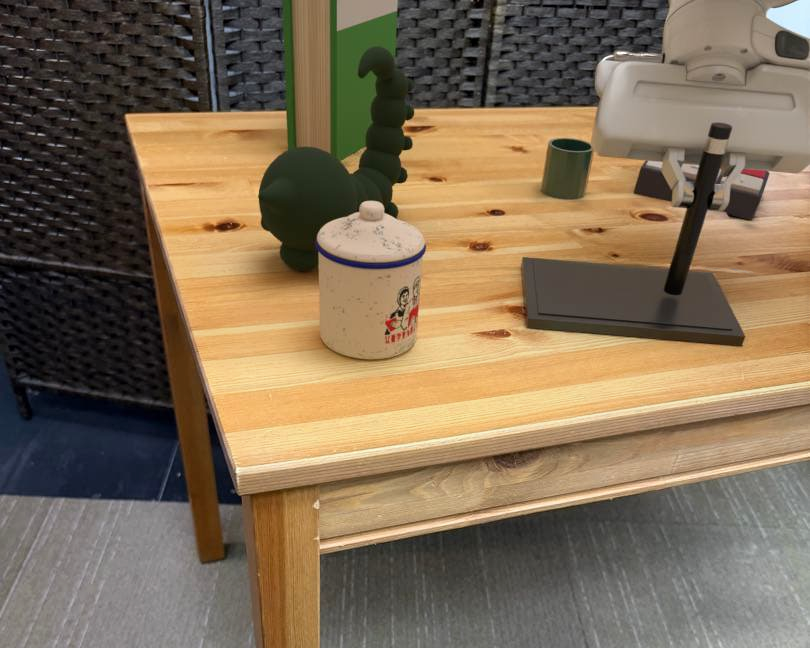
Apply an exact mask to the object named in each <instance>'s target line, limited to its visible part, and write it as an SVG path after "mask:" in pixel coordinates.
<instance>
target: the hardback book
mask: <svg viewBox="0 0 810 648" xmlns="http://www.w3.org/2000/svg"><path fill="white" fill-rule="evenodd" d="M398 2H399V1H398V0H282V1H281V3H282V6H281V7H282V28H283V30H282V31H283V56H284V57H283V60H284V81H285V82H284V85H285V106H286V107H285V109H286V111H285V113H286V135H287V136H286V139H287V141H286V142H287V150H290V149H292V148H297V147H304V146H306V147H314V148H318V149H321V150H323V151H326V152H328V153H330V154H331V155H333V156H334V157H335V158H337V159H338V160H339V161H340V162H342V160H344V159H346V158H347V157H349V156H351V155H353V154H354V153H356V152H358V151H360V150H362V149H363V148H365V147H366V139H365V136H366V133H367V130H368V128H369V126H370V125H371V124H372V123H373V121H372V119H371V111H370V108H371V104H372V101H373V99H374V98H375V97H376V95H377V93H376V89H375V83H376V79H377V77H376V76H375V75H374V73H373V72H372V71H370V72H369V73H368V74H367V75H366V76H365V77H364V78H359V76H358V67H359V63H360V59H361V57H362V55H363V54H364V52H365V51H366V50H368V49H369V48H371V47H376V46H381V47H383V48H385V49H387V50H388V51H389V52H390V53H391V54H392V56H393V57H394V60H395V61H396V54H397V53H396V49H397V29H398V28H397V27H398V26H397V25H398V5H399V4H398Z"/></svg>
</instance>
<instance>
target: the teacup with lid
mask: <svg viewBox="0 0 810 648" xmlns="http://www.w3.org/2000/svg"><path fill="white" fill-rule="evenodd" d="M315 244H316V248H317V250H318V251H319V264H318V304H319V305H318V307H319V308H318V310H319V312H318V313H319V336H320V338H321V340H322V342H323V343H324V344H325V346H326V347H328V348H329V349H330V350H332V351H333V352H335V353H337V354H339V355H342V356H345V357H349V358H354V359H359V360H384V359H390V358H393V357H396V356H398V355H401V354H404V353H406V352H407V351H408V350H410V349H411V348H412V347H413V346H414V344H415V343H416V341H417V338H418V337H417V336H418V327H419V325H418V323H419V311H420V298H421V297H420V296H421V283H422V269H423V268H422V267H423V256H424V255H425V253H426V251H427V244H426V240H425V238H424V236H423V234H422V232H421V231H420V229H418V228H417V227H416V226H414V225H412V224H411V223H408V222H406V221H403V220H401V219H397V218H396V219H395V218H394V217H392V216H390V215H388V214H386V213H384V206H383V205H382V204H381V203H380V202H377V201H365V202H363V203H362V204H361V205H360V208H359V212H357V213H354V214H351V215H349V216H348V217H343V218H339V219H336V220H333V221H331V222H329V223H327V224H325V225H324V226H323V227H322V228H321V229H320V231H319V232H318V235H317V238H316V241H315Z"/></svg>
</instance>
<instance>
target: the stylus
mask: <svg viewBox="0 0 810 648" xmlns="http://www.w3.org/2000/svg"><path fill="white" fill-rule="evenodd" d="M731 131H732V126H731V125H729V124H726V123H719V122H716V123H712V124H711V126H710V130H709V133H708V136H707V139H706V143H705V146H704V150H703V154H702V157H701V161H700V164H699V168H698V171H697V175H696V178H695V189H694V191H693V193H694V199H693V202H692V204H691V205H690V206H689V208H685V209H686V210H685V213H684V216H683V220H682V224H681V226H680V231H679V234H678V237H677V241H676V243H675V248H674V252H673V254H672V259H671V262H670V265H669V268H668V269H669V272H668V275H667V279H666V282H665V286H664V292H666V293H668V294H670V295H680V294H682V292H683V289H684V285H685V282H686V279H687V275H688V272H689V271H690V269H691V265H692V262H693V259H694V255H695V252H696V249H697V246H698V242H699V239H700V237H701V233H702V229H703V226H704V224H705V223H704V222H705V219H706V216H707V213H708V211H709V210H708V206H709V203H710V200H711V197H712V193H713V190H714V187H715V184H716V180H717V177H718V174H719V170H720V167H721V164H722V161H723V157H724V154H725V152H726V148H727V145H728V142H729V138H730V134H731Z"/></svg>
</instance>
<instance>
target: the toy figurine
mask: <svg viewBox="0 0 810 648" xmlns="http://www.w3.org/2000/svg"><path fill="white" fill-rule="evenodd" d="M370 71H372V72H373V73H374V75H375V76H376V77H377V79H376V83H375V89H376V93H377V95H376V97H375V98H374V99H373V101H372V104H371V108H370V111H371V119H372V121H373V123H372V124H371V125H370V126H369V128H368V130H367V133H366V136H365V139H366V146H365V147H366V148H365V149H364V151H363V152H362V153H361V156H360V158H359V161H358V168H357V169H356V170H355V171H354V172H351V173H350V171H349V170H348V169H347V168H346V166H345V165H344V164H343V162H342V161H339V160H338V159H337V158H335V157H334V156H333V155H331V154H330V153H328V152H326V151H323V150H321V149H318V148H314V147H306V146H304V147H297V148H292V149H290V150H288V149H287V150H285V151H283V152H282V153H280V154H279V155H277V156H276V157H275V158H274V159H273V161H272V162H271V163H270V164H269V165H268V166H267V168H266V170H265V171H264V173H263V175H262V178H261V181H260V184H259V188H258V194H257V198H258V205H259V206H258V207H259V211H260V216H261V218H260V226H261V228H262V230H264V231H266V232H269V233H270V234H271V235H272V236H273V237H274V238H275V239H276V240H277V241H279V242H280V243H281V245H280V247H279V257H280V259H281V260H282V262H283V263H284V265H285V266H287V267H289V268H291V269H294V270H296V271H301V272H312V271H313V270H316V268H317V267H319V251H318V250H317V248H316V244H315V241H316V238H317V235H318V232H319V231H320V229H321V228H322V227H323V226H324V225H325V224H327V223H329V222H331V221H333V220H336V219H339V218H343V217H348V216H349V215H351V214H354V213H357V212H359V208H360V205H361V204H362V203H363V202H365V201H377V202H380V203H381V204H382V205H383V206H384V213H386V214H388V215H390V216H392V217H394V218H395V219H397V217H398V215H399V207H398V206H397V205H396V203H395V202H393V201H392V200H393V194H394V189H393V186H395V185H396V184H404V183H406V182H407V180H408V177H409V175H408V170H407V169H406V168H405V167H403V166H402V161H401V158H400V155H402V152H403V151H404V152H406V151H410V150H411V149H412V148H413V145H414V143H413V139H412V138H411V136H406V135H405V132H404V130H403V128H402V127H403V126H404V125H405V124H406V121H410V120H412V119H413V118H414V117H415V109H414V107H413V106H411V104H407V102H406V100H405V99H406V97H407V96H408V93H411V92H412V91H413V90H414V88H415V83H414V81H413V80H412V79H411V78H409V77H408V76H407V75H406V74H405V72H404V71H403V70H401V69H400V68H398V67H396V59H395V60H394V57H393V56H392V54H391V53H390V52H389V51H388V50H387V49H385V48H383V47H381V46H376V47H371V48H369V49H368V50H366V51H365V52H364V54H363V55H362V57H361V59H360V63H359V67H358V76H359V78H364V77H365V76H366V75H367V74H368V73H369V72H370Z"/></svg>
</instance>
